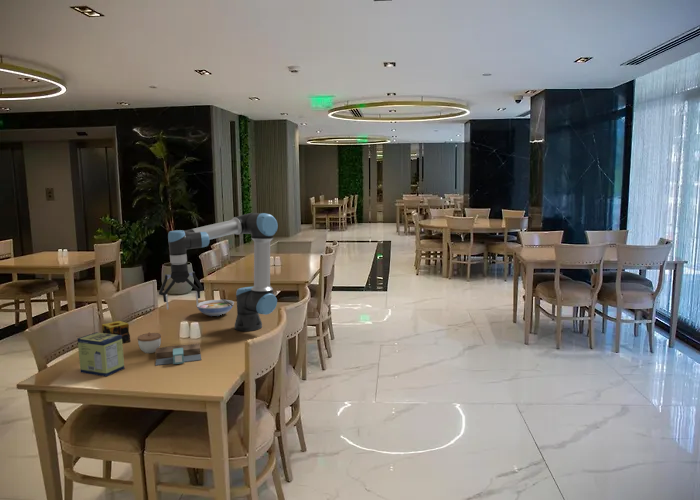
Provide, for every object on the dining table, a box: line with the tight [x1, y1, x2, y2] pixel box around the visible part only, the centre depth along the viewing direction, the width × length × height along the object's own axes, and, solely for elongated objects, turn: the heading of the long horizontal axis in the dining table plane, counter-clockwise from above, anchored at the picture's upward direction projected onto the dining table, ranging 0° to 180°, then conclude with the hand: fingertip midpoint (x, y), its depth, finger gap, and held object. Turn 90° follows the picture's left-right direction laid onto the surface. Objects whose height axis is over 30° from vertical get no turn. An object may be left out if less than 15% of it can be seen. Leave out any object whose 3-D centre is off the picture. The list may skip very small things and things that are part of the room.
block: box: [173, 348, 185, 365], centre depth 242 cm, size 4×4×9 cm
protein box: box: [77, 331, 125, 378], centre depth 231 cm, size 10×16×16 cm
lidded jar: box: [137, 332, 162, 354], centre depth 257 cm, size 11×11×9 cm
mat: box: [155, 353, 202, 367], centre depth 244 cm, size 20×8×1 cm, turn 109°
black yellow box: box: [101, 320, 131, 345], centre depth 272 cm, size 10×10×10 cm
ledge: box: [155, 343, 201, 360], centre depth 252 cm, size 20×8×3 cm, turn 109°
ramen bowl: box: [195, 297, 235, 317], centre depth 325 cm, size 25×23×8 cm
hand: (182, 306), depth 252 cm, fingers open, 13 cm apart
